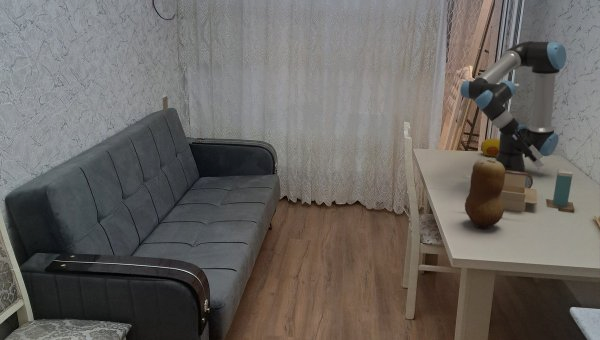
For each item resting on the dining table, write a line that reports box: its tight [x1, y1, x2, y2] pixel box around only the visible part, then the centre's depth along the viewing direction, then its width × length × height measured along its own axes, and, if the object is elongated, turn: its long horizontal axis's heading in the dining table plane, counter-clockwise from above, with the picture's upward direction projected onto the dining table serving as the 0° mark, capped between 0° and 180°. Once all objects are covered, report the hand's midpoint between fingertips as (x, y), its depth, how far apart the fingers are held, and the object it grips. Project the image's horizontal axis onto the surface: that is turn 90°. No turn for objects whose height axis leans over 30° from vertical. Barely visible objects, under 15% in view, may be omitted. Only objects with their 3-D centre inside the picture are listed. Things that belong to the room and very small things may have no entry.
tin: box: [505, 170, 534, 189], centre depth 233 cm, size 15×3×8 cm, turn 71°
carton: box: [500, 174, 538, 213], centre depth 215 cm, size 23×26×9 cm
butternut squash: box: [464, 158, 505, 229], centre depth 188 cm, size 14×13×25 cm
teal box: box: [552, 168, 574, 207], centre depth 210 cm, size 5×5×14 cm
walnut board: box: [545, 198, 575, 214], centre depth 212 cm, size 10×10×1 cm
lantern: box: [466, 138, 500, 158], centre depth 291 cm, size 10×10×30 cm
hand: (540, 162), depth 211 cm, fingers open, 13 cm apart
